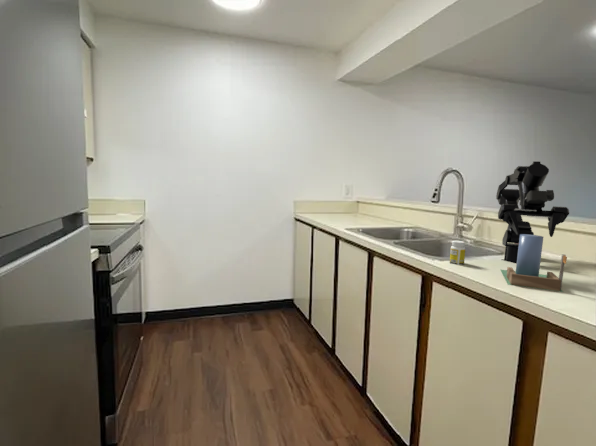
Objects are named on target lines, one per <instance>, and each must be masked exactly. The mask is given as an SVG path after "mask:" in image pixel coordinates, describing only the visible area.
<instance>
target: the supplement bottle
mask: <svg viewBox="0 0 596 446" xmlns="http://www.w3.org/2000/svg"><path fill="white" fill-rule="evenodd" d="M465 244H466V243H465V241H462V240H452V242H451V246H450V253H449V254H450V255H449V264H450V265H459V266H460V265H461V266H462V265H465V259H466V247H465Z"/></svg>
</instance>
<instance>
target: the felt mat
mask: <svg viewBox="0 0 596 446" xmlns="http://www.w3.org/2000/svg"><path fill="white" fill-rule="evenodd" d="M514 271H515V273H516V270H514ZM500 272H501V274H502V276H503V278H504V280H505V283H507V286H512V285H511V284H510V282H509V280H508V278H507V269H500ZM539 277H545V278H547V274H541V273H539ZM513 286H515V287H518V286H517V285H513ZM520 287H523V288H525V287H524V286H520ZM528 288H529V289H530V288H531V289H533V288H532V287H528ZM535 289H537V290H541V289H540V288H535ZM543 290H545V291H548V290H547V289H543ZM550 291H553V292H556V291H555V290H550ZM558 292H559V293H564V290H562V289H561V291H558Z"/></svg>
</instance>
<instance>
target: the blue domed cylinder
mask: <svg viewBox="0 0 596 446" xmlns="http://www.w3.org/2000/svg"><path fill="white" fill-rule="evenodd" d="M543 244H544V236H542V235H537V234H534V235H529V234H520V238H519V247H518V256H517V264H516V265H515V271H516V274H520V275H528V276H536V277H539V274H540V269H541V262H542V261H541V260H542V252H543Z"/></svg>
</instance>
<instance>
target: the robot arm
mask: <svg viewBox="0 0 596 446" xmlns="http://www.w3.org/2000/svg"><path fill="white" fill-rule="evenodd" d="M549 172H550V169H549V168H548V166H546V165H545V164H542V162H541V161H540V160H539V161H532V164H530V165H525V166H523V165H522V166H521V165H518V166H517V167H516V168H515V169H514V171H513V173H511V174H507V175H506V176H505V179H504V180H503V181H502V182H501V184H499V185H498V187H497V191H496V195H495V197H496V198H495V199H496V200H497V202H498V204H499V205H500V207H499V209H498V212H497V213H498V214H497V217H498V218H497V219H498V220H501V221H502V222H505V223H506V224H508V225H507V229H506V230H505V232H504V235H503V237H502V240H501V241H502V242H501V243H502V245H503V246H504V248H505V249H504V259H501V261H504V262H508V263H511V264H512V263H513V264H516V265H517V256H518V247H519V244H515V243H519V238H520V234H529V235H535V234H534V232H533V230H532V227H531V224H530V222H529V221H524V220H523V217H522V216H526V217H536V218H537V217H538V218H541V217H542V218H547V220H548V222H547V227H548V235H549V237H550V238H552V237H553V236H554V234H555V229H556V226H557V225H559V224H562V223H564V222H565V220H566V219H567V218H568V216H569V215H570V210H569V208H568V207H566V206H554V205H553V206H552V208H551V209H550V210H544V208H545V206H546V202H552V201H553V200H554V199H555V193H554V192H555V191H554V190H553V189H546V190H540V187H542V185H543V183H544V182H545V179H546V178H547V176H548V174H549ZM508 185H509V186H517V187H518V189H517V188H514V189H513V188H507V187H508ZM519 206H520V207H519Z"/></svg>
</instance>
